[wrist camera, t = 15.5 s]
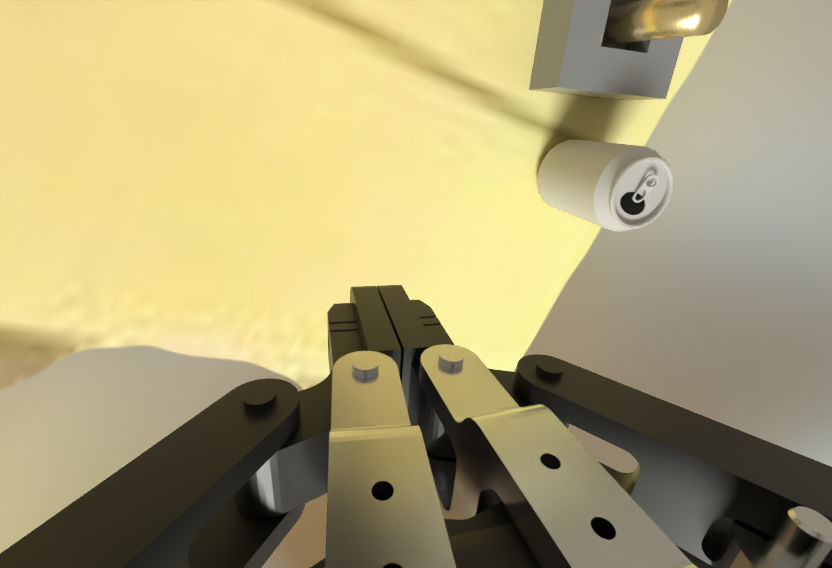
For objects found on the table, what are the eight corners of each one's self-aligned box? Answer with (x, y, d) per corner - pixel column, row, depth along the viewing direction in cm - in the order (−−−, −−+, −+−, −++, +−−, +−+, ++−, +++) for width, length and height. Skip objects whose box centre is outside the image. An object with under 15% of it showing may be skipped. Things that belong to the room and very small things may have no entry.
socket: (554, -62, 34) (590, -87, 30) (663, -38, 37) (710, -58, 33) (529, 89, 39) (557, 87, 35) (627, 100, 42) (665, 98, 38)
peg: (599, 2, 35) (702, -22, 27) (627, 5, 36) (735, -17, 28) (591, 43, 37) (686, 33, 28) (618, 45, 38) (718, 36, 29)
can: (520, 191, 43) (590, 217, 33) (556, 126, 41) (642, 131, 31) (569, 217, 46) (647, 248, 36) (604, 157, 44) (698, 171, 34)
